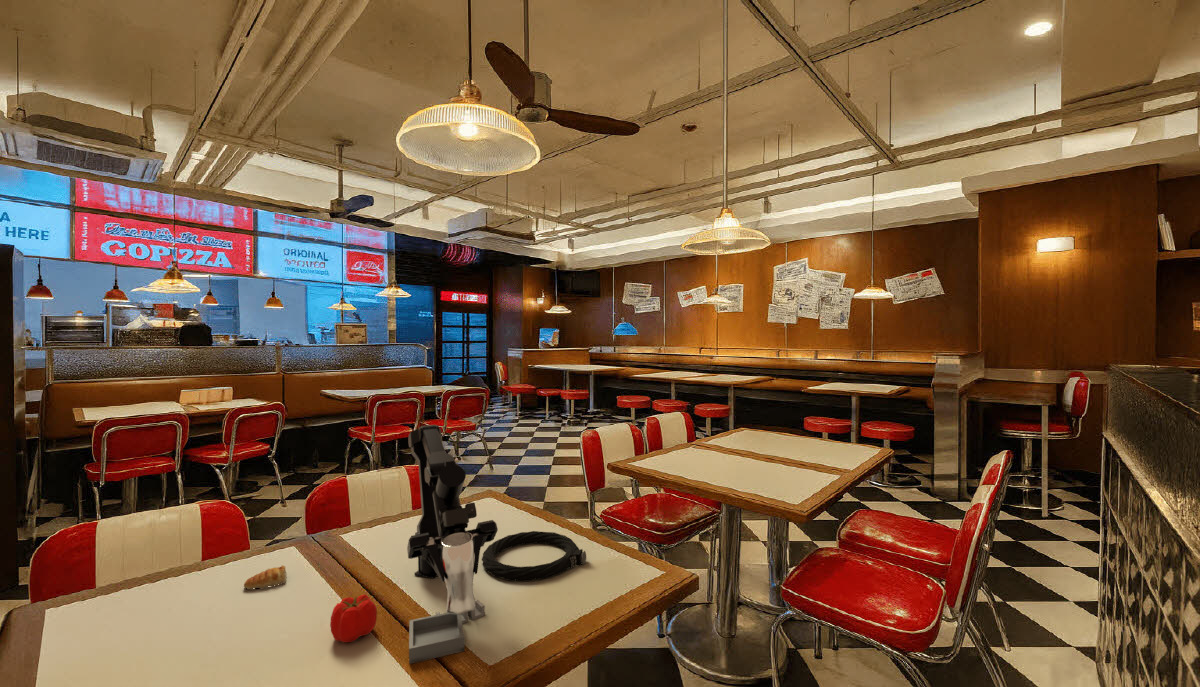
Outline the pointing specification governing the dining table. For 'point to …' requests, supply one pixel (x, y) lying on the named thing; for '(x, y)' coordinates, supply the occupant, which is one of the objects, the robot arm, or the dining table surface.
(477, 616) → the clip
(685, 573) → the dining table surface
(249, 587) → the pastry
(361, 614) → the tomato
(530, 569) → the cable lock
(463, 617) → the clip
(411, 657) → the holder
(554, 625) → the dining table surface
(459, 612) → the beer glass
